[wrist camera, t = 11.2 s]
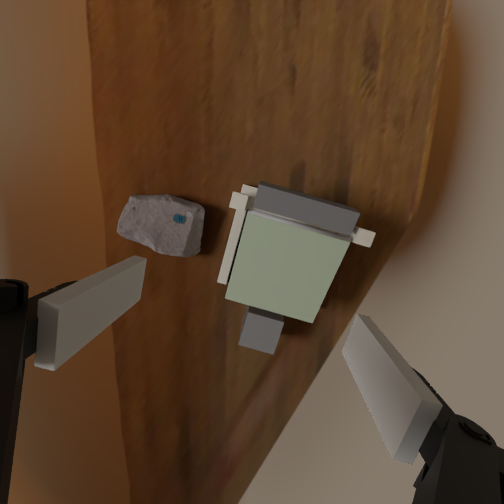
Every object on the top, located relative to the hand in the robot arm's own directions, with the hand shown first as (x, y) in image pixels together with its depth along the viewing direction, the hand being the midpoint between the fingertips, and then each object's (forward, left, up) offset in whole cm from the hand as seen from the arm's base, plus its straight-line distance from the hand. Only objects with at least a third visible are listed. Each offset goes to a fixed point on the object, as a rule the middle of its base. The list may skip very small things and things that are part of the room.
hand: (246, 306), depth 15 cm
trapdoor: (0, +5, -23) cm, 23 cm away
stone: (+2, -15, -30) cm, 34 cm away
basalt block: (+14, +5, -23) cm, 28 cm away
